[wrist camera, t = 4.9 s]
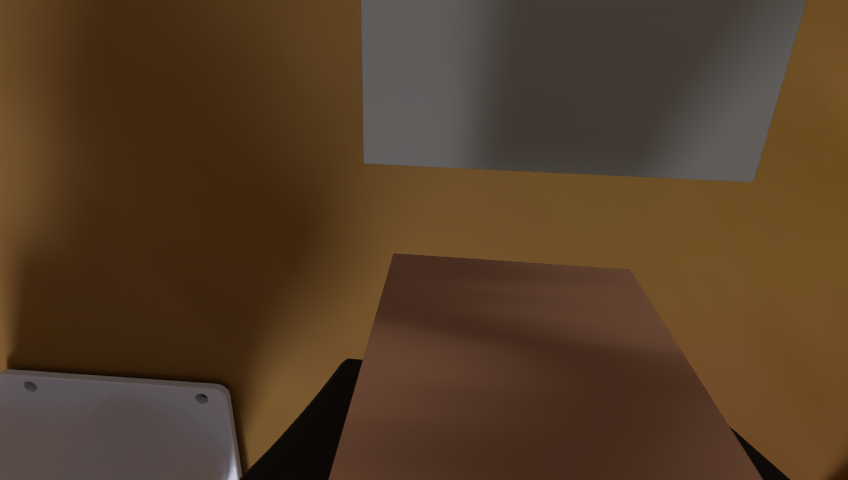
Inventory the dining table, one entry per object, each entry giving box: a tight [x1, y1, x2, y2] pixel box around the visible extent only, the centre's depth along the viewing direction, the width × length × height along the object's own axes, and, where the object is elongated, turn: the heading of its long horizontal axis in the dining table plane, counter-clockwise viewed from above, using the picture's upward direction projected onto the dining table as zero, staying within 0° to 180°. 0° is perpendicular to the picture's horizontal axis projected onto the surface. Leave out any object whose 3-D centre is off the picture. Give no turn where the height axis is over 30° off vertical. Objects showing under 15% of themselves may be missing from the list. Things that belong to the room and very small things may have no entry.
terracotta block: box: [329, 253, 763, 480], centre depth 8 cm, size 4×4×6 cm
